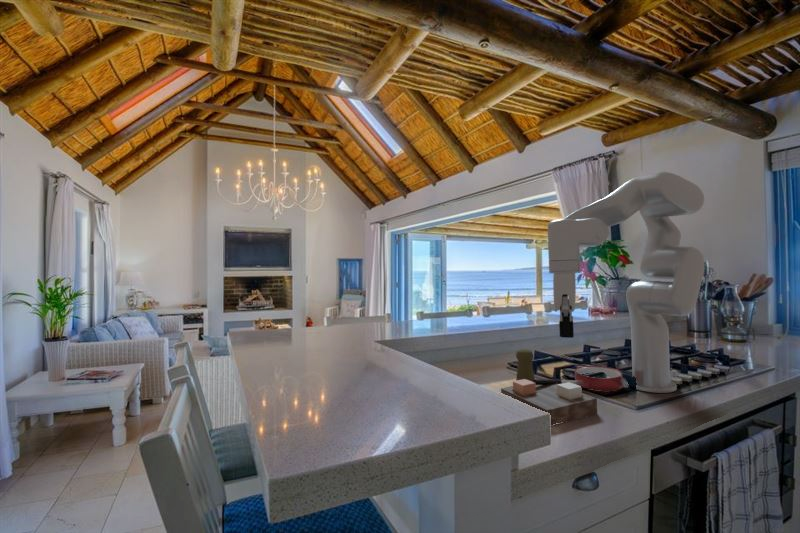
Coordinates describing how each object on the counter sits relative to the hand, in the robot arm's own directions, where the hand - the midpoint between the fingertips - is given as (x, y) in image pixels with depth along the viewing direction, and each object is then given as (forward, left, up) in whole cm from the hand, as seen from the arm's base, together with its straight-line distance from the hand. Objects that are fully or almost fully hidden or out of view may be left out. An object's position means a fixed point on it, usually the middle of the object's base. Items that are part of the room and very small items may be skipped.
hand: (566, 333), depth 103 cm
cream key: (0, 0, -17) cm, 17 cm away
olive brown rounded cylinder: (-4, -22, -20) cm, 30 cm away
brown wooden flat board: (+4, -4, -20) cm, 21 cm away
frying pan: (-13, -9, -21) cm, 26 cm away
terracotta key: (+8, -8, -17) cm, 20 cm away
